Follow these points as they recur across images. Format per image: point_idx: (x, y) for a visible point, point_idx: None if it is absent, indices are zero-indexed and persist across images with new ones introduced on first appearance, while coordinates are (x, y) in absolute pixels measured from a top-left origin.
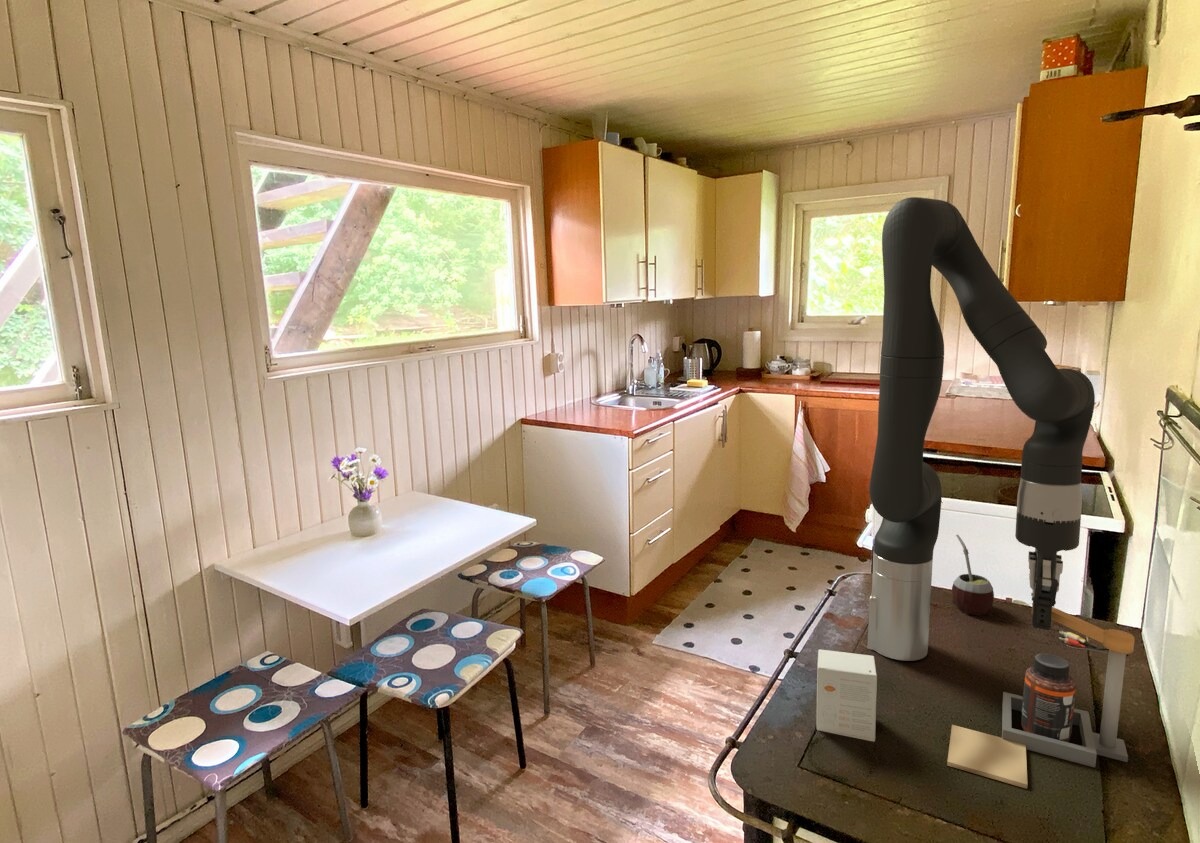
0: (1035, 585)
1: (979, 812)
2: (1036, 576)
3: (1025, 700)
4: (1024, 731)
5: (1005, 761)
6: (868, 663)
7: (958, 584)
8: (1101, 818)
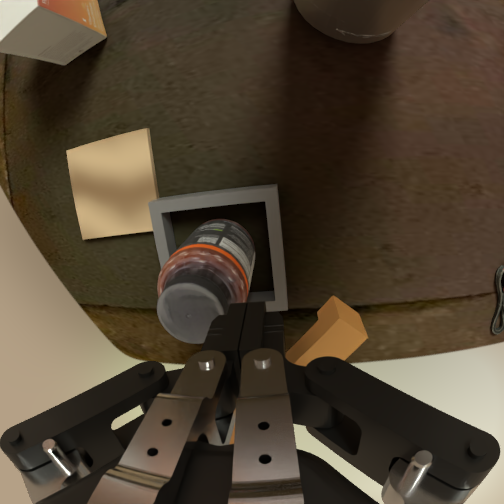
0: (43, 425)
1: (30, 201)
2: (114, 461)
3: (189, 237)
4: (164, 230)
5: (106, 211)
6: (13, 19)
7: None
8: (94, 303)
